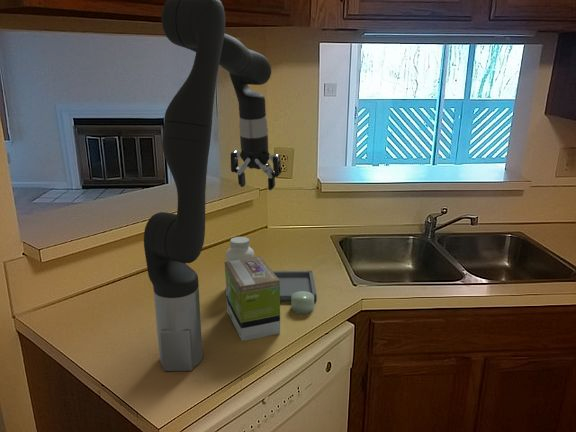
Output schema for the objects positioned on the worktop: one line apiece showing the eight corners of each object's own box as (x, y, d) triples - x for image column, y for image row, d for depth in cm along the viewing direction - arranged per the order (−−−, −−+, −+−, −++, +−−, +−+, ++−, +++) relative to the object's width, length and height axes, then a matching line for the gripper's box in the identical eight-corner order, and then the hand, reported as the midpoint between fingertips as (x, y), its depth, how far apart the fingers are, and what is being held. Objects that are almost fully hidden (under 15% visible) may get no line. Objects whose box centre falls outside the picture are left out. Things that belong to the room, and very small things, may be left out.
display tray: (316, 301, 133) (316, 295, 133) (255, 301, 133) (255, 295, 132) (312, 276, 148) (312, 270, 148) (257, 276, 148) (257, 271, 147)
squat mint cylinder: (314, 313, 127) (315, 301, 126) (291, 314, 127) (291, 301, 126) (313, 302, 133) (313, 291, 132) (290, 302, 133) (291, 291, 131)
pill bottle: (236, 280, 145) (235, 233, 141) (260, 285, 142) (259, 237, 137) (221, 291, 138) (219, 242, 134) (246, 297, 135) (245, 247, 130)
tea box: (225, 312, 127) (223, 260, 123) (262, 306, 131) (261, 254, 126) (241, 342, 114) (239, 285, 109) (281, 334, 117) (281, 278, 113)
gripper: (223, 134, 131) (228, 190, 138) (273, 139, 127) (276, 195, 134) (235, 126, 137) (239, 180, 144) (283, 130, 133) (284, 185, 140)
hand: (256, 187), depth 139 cm, fingers open, 8 cm apart
